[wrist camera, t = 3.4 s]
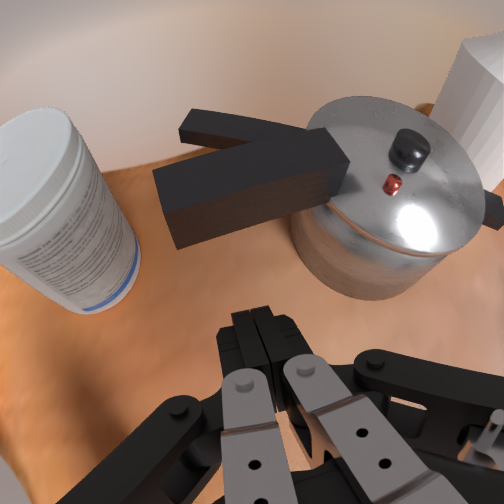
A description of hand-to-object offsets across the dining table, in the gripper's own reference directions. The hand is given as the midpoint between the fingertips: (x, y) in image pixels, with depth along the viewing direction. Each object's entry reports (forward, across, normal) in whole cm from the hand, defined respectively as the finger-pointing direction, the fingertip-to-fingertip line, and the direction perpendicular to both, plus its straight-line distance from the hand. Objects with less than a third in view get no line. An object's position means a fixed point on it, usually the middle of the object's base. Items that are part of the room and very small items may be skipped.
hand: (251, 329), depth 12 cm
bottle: (+19, -29, -2) cm, 35 cm away
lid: (+8, -9, -4) cm, 13 cm away
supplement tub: (+16, +12, +1) cm, 20 cm away
